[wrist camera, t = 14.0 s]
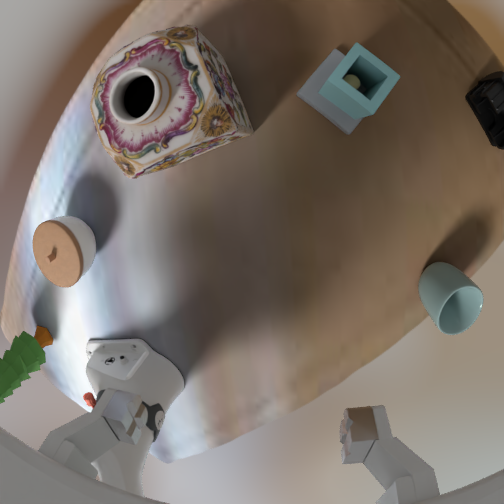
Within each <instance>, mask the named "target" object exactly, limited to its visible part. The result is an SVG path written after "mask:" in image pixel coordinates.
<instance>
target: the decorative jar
mask: <svg viewBox="0 0 504 504" xmlns="http://www.w3.org/2000/svg"><path fill="white" fill-rule="evenodd" d="M90 110H91V113H92V118H93V122H94V125H95V128H96V131H97V135H98V136H99V138H100V140H101V143H102V145H103V147H104V148H105V149H106V151H107V152H108V154H110V155H111V157H112V158H113V160H114V162H115V163H116V164H117V165H118V166H119V167H120V168H121V169H122V171H123V172H124V175H126V176H127V177H128V178H137V177H139V176H142V175H145V174H149V173H153V172H156V171H161V170H164V169H167V168H170V167H173V166H176V165H178V164H180V163H183V162H185V161H187V160H189V159H192V158H194V157H196V156H199V155H201V154H204V153H206V152H209V151H211V150H214V149H216V148H218V147H221V146H224V145H226V144H229V143H231V142H233V141H236V140H239V139H241V138H244V137H247V136H249V135H252V134H253V133H254V131H253V128H252V125H251V123H250V120H249V117H248V115H247V112H246V109H245V107H244V105H243V102H242V100H241V98H240V95H239V92H238V90H237V88H236V85H235V83H234V81H233V79H232V76H231V74H230V71H229V69H228V66H227V64H226V62H225V60H224V58H223V57H222V55H221V54H220V53H219V52H218V51H217V49H216V48H215V47H214V46H213V45H212V44H211V43H210V42H209V41H208V40H207V38H206V37H204V35H203V34H202V33H201V32H200V31H199V30H198V29H197V28H196V27H195V26H192V25H185V26H183V27H172V28H169V29H166V30H162V31H157V32H153V33H150V34H147V35H145V36H143V37H142V38H139V39H138V40H136V41H134V42H132V43H131V44H129V45H127V46H125V47H123V48H122V49H120V50H119V51H118V52H116V53H115V54H114V55H113V56H111V57H110V58H109V59H108V60H107V62H106V64H105V65H104V67H103V68H102V70H101V71H100V73H99V74H98V76H97V78H96V81H95V83H94V88H93V93H92V99H91V103H90Z"/></svg>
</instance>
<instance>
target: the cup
mask: <svg viewBox="0 0 504 504" xmlns="http://www.w3.org/2000/svg"><path fill="white" fill-rule="evenodd" d="M418 292H419V296H420V299H421V302H422V304H423V305H424V307H425V309H426V311H427V312H428V314H429V316H430V317H431V319H432V320H433V322H434V323H435V325H436V326H437V327H438V329H439V330H440V331H441V332H443V333H445V334H448V335H455V334H459V333H462V332H464V331H465V330H467V329H468V328H469V327H470V326H471V325H472V324H473V323H474V322H475V320H476V319H477V317H478V316H479V314H480V312H481V309H482V306H483V294H482V291H481V290H480V289H479V287H478V286H477V285H476V284H475V283H474V282H473V281H472V280H471V279H470V278H469V277H468V276H467V275H466V274H464V273H463V272H462V271H461V270H459V269H458V268H457V267H455V266H453V265H451V264H449V263H446V262H435V263H432V264H430V265H429V266H428V267H427V268H426V269H425V270H424V271H423V273H422V275H421V277H420V280H419V284H418Z"/></svg>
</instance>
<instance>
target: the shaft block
mask: <svg viewBox="0 0 504 504" xmlns="http://www.w3.org/2000/svg"><path fill="white" fill-rule="evenodd" d="M344 57H345V55H344V54H342V53H341V52H340V51H338V50H337V49H334V50H333V51H332V52H331V53H330V55H329V56H328V57H327V58H326V59H325V60H324V61H323V63H322V64H321V65H320V66H319V67H318V68H317V70H316V71H315V72H314V73H313V74H312V76H311V77H310V78H309V79H308V80H307V82H306V83H305V84H304V85H303V86H302V88H301V89H300V90H299V91H298V92H297V96H298V97H299V98H301V99H302V100H303V101H305V102H306V103H307V104H309V105H310V106H312V107H313V108H314V109H315V110H317V111H318V112H319V113H321V114H322V115H323V116H325V117H326V118H327V119H328V120H330V121H331V122H332V123H333V124H335V125H336V126H337V127H338V128H339V129H341V130H342V131H343V132H344V133H345V134H351V132H352V131H353V130H354V129H355V127H356V126H357V125H358V124H359V122H360V121H361V120H362V119H363V117H362V118H359V119H355V120H354V119H353V118H352V117H351V116H349V115H348V114H347V113H345V112H344V111H343V110H341V109H340V108H339V107H337V106H336V105H335V104H333V103H332V102H331V101H329V100H328V99H326V98H325V97H323V96H322V95H321V94H319V93H318V92H319V91H320V89H321V88H322V86H323V85H324V84H325V82H326V81H327V79H328V78H329V77H330V75H331V74H332V73H333V72H334V70H335V69H336V68H337V66H338V65H339V64H340V62H341V61H342V60H343V59H344ZM342 79H343V80H344V81H345V82H347V83H348V84H350V85H351V86H352V87H354V88H355V89H356V90H357V91H359V92H360V93H361V94H364V92H365V91H366V89H367V88H366V87H364V86H363V85H362V84H360V80H359V79H358V77H356V76H355V75H348V74H347V73H345V75H344V76H343V77H342Z"/></svg>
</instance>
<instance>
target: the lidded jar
mask: <svg viewBox="0 0 504 504" xmlns="http://www.w3.org/2000/svg"><path fill="white" fill-rule="evenodd" d="M33 252H34V256H35V259H36V262H37V264H38V266H39V268H40V270H41V271H42V273H43V274H44V275H45V277H46V278H47V279H48V280H49V281H51V282H52V283H54V284H55V285H57V286H60V287H70V286H73V285H74V284H75V283H76V282H78V280H79V279H80V278H81V277H82V276H84V275H85V273H86V272H87V271H88V270H89V269H90V267H91V266H92V264H93V261H94V259H95V254H96V240H95V235H94V233H93V231H92V229H91V228H90V227H89V226H88V225H87V224H86V223H85V222H84V221H82V220H81V219H79V218H77V217H73V216H60V217H56V218H54V219H51V220H48V221H45V222H43V223H41V224H40V225H39V226H38V227H37V228H36V230H35V233H34V236H33Z"/></svg>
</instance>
